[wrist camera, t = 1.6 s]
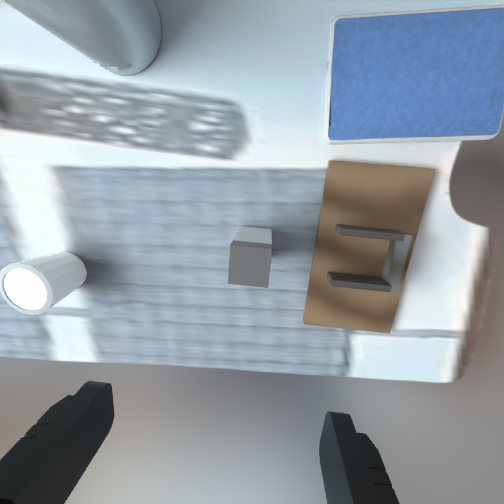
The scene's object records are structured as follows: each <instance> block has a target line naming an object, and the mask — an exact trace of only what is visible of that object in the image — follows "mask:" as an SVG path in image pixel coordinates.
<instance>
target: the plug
mask: <svg viewBox="0 0 504 504" xmlns="http://www.w3.org/2000/svg"><path fill="white" fill-rule="evenodd" d="M271 256H272V231H271V229H267V228H257V227H246V226H241V228H240V229H239V231H238V233H237V235H236V236H235V238H234V240H233V242H232V243H231V245H230V260H229V276H228V284H237V285H246V286H256V287H265V288H268V283H269V274H270V265H271Z"/></svg>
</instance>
